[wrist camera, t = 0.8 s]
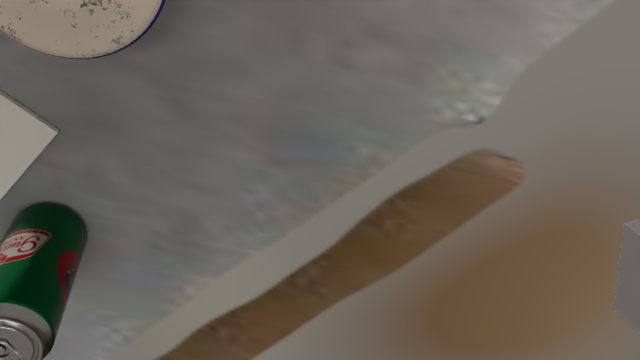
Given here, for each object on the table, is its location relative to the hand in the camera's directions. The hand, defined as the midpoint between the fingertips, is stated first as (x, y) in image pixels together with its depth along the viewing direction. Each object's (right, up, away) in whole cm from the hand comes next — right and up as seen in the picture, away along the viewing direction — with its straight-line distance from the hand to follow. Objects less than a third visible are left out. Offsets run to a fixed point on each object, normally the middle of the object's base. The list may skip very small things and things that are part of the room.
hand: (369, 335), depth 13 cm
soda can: (-21, 0, +27) cm, 34 cm away
